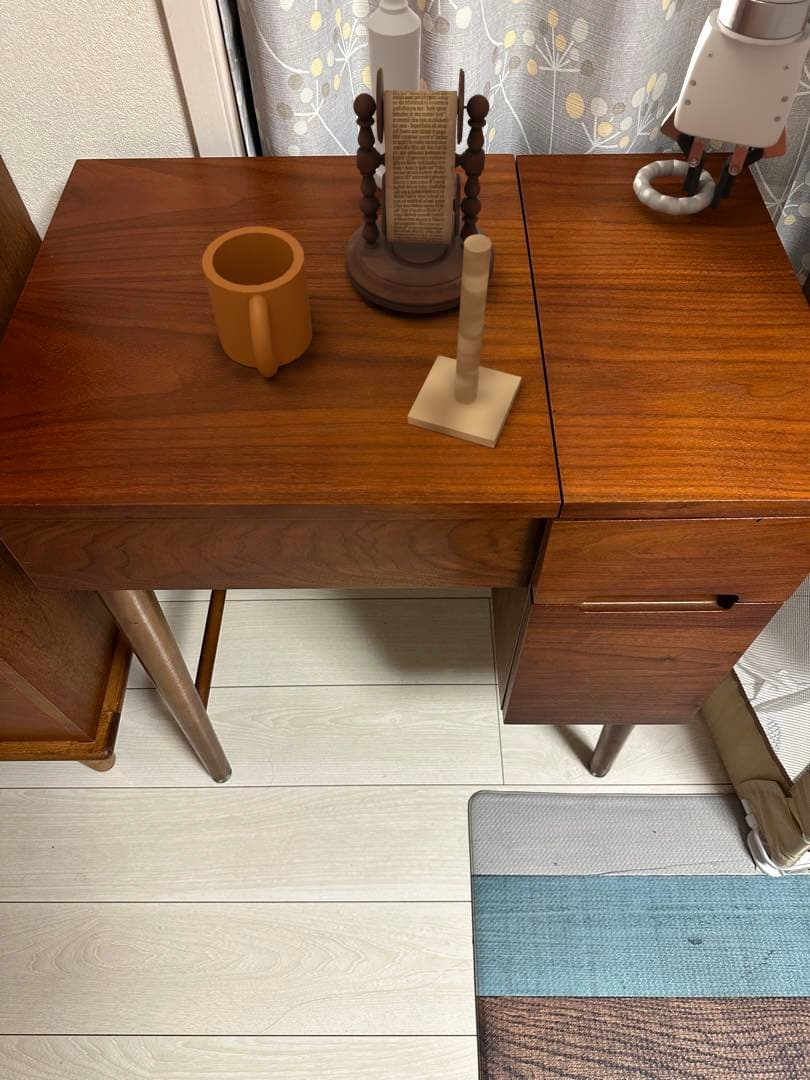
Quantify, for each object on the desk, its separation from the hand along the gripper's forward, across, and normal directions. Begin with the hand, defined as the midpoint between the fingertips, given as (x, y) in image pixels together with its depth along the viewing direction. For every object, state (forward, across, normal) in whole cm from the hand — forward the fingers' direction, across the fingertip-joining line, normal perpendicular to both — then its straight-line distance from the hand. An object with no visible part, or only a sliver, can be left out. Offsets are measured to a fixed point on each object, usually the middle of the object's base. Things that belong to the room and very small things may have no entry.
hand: (703, 198), depth 85 cm
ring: (-1, +3, 0) cm, 3 cm away
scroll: (+2, +25, +20) cm, 32 cm away
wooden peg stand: (+2, +15, +35) cm, 38 cm away
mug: (+2, +35, +35) cm, 49 cm away
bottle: (+2, +33, +6) cm, 33 cm away
